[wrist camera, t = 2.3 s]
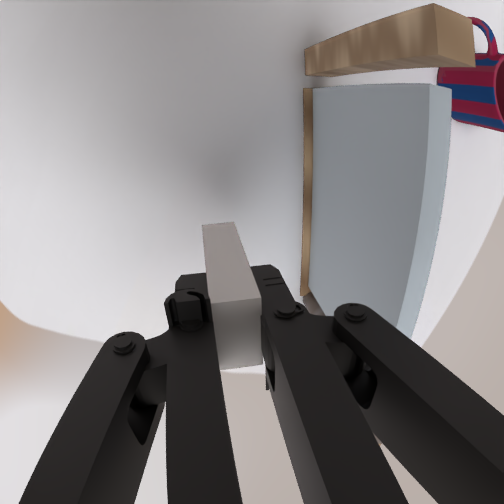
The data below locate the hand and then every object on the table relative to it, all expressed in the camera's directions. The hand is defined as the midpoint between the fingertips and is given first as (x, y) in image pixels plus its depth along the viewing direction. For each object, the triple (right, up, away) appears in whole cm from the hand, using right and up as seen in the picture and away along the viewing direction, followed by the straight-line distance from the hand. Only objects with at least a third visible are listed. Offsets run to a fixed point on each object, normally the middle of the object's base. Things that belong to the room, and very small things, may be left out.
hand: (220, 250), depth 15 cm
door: (+7, +4, +9) cm, 12 cm away
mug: (+20, +16, +6) cm, 26 cm away
